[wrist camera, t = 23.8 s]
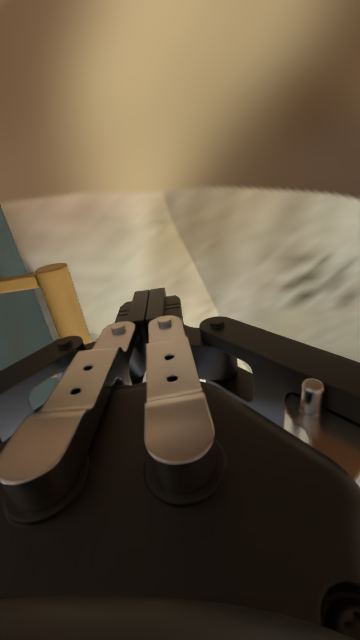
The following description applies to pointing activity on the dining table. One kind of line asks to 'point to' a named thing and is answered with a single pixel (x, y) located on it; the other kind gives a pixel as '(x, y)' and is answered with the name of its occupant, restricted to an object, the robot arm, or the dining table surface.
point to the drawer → (34, 309)
